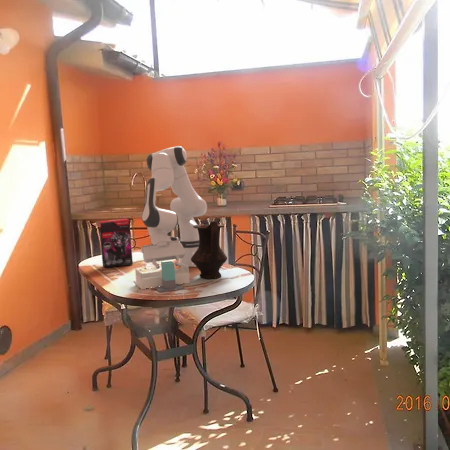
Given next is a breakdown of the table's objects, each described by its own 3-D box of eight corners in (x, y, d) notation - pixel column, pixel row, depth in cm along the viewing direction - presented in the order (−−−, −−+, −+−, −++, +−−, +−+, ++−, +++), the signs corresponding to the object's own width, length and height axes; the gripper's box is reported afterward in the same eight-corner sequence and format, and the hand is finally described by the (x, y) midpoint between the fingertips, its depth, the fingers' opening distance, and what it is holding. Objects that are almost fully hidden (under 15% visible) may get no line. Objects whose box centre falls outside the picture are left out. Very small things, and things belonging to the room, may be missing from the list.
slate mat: (178, 284, 245) (178, 283, 245) (184, 288, 237) (184, 287, 236) (154, 288, 240) (154, 287, 240) (159, 292, 232) (159, 291, 232)
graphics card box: (104, 268, 290) (100, 222, 287) (101, 266, 296) (98, 220, 293) (133, 265, 298) (130, 219, 294) (130, 263, 304) (127, 218, 300)
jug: (187, 275, 264) (184, 218, 260) (220, 271, 270) (217, 215, 266) (199, 284, 244) (196, 223, 240) (235, 279, 251) (232, 219, 247)
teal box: (172, 285, 242) (171, 261, 240) (175, 287, 237) (174, 263, 236) (162, 287, 240) (161, 262, 238) (165, 289, 235) (163, 264, 234)
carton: (178, 275, 265) (178, 260, 263) (189, 282, 248) (188, 266, 247) (133, 281, 256) (132, 266, 255) (141, 289, 239) (140, 273, 238)
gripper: (140, 242, 241) (147, 265, 233) (181, 237, 248) (189, 260, 241) (139, 249, 245) (145, 273, 238) (179, 244, 253) (186, 267, 245)
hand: (167, 266), depth 239 cm, fingers open, 8 cm apart
